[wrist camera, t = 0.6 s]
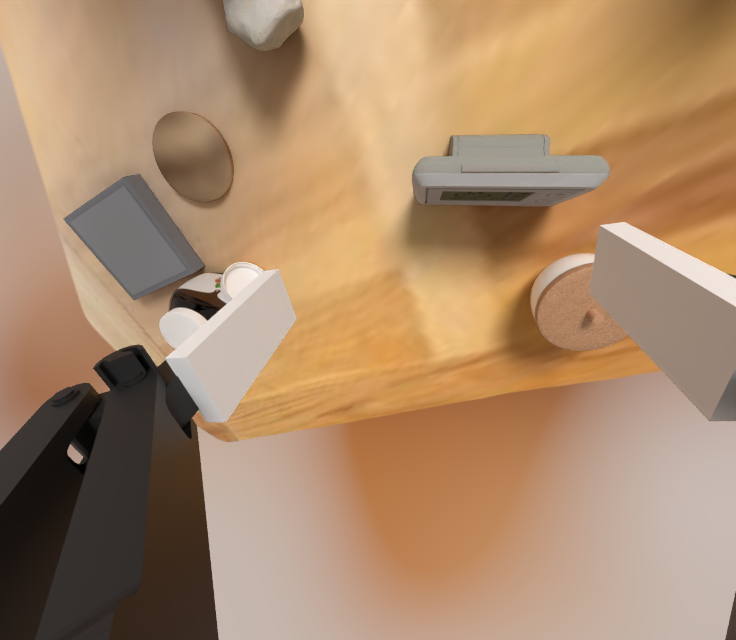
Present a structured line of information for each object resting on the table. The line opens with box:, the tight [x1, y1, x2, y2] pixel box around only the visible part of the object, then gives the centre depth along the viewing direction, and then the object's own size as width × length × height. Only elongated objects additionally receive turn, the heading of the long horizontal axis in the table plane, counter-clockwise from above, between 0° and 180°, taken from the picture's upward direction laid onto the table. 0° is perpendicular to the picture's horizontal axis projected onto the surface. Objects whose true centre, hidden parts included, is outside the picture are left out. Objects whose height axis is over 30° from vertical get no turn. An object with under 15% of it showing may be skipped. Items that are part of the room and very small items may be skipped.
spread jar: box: [159, 262, 263, 349], centre depth 44 cm, size 12×11×12 cm
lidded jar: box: [530, 253, 628, 351], centre depth 36 cm, size 11×11×9 cm
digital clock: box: [412, 134, 610, 206], centre depth 31 cm, size 16×9×11 cm, turn 79°
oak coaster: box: [153, 112, 234, 202], centre depth 39 cm, size 10×10×1 cm
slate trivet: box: [64, 174, 205, 300], centre depth 46 cm, size 14×14×3 cm
